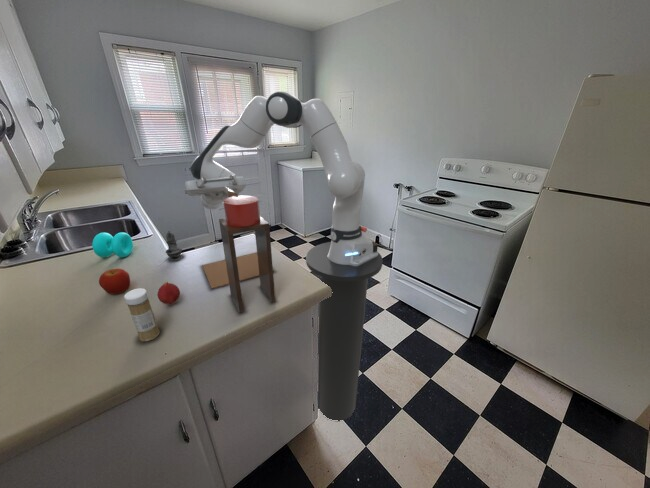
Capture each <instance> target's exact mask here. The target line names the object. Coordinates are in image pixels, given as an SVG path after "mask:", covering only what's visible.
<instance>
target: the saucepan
mask: <svg viewBox="0 0 650 488" xmlns="http://www.w3.org/2000/svg"><path fill="white" fill-rule="evenodd" d="M223 193H224V194H225V195H226V196H227V197H228V198H227V199H225V200H224V201H223V203H222V204H223V209H224V215H225V218H226V223H227V224H228V225H229V226H233V227H247V226H252V225H255V224H257V223H259V222H260V216H261V213H260V201H259V198H258V197H257V196H253V195H240V194H239V195H237V194H236V193H235V192H234V191H232V190H231V189H230V188H229V187H224V188H223Z"/></svg>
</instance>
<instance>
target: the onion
mask: <svg viewBox="0 0 650 488" xmlns="http://www.w3.org/2000/svg"><path fill="white" fill-rule="evenodd" d="M156 296H157V298H158V300H159V302H160V303H162V304H165V305H170V306H171V305H174V304H175V303H176V302H177V301H178V299H179V298H180V296H181V290H180V288H179V287H178V286H177V285H176V284H175V283H170V282H169V281H165V282H164V283H163V284H162V285H161V286H160V287H159V288H158V291H157V295H156Z"/></svg>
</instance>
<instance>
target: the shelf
mask: <svg viewBox="0 0 650 488" xmlns="http://www.w3.org/2000/svg"><path fill="white" fill-rule="evenodd" d="M218 222H219V229H220V235H221V241H222V248H223V254H224V260H225V261H226V267H227V273H228V280H229V285H228V286H229V292H230V296H231V299H232V300H233V303H234V304H235V307H236V309H237V311H238V312H239V314H242V313H245V309H244V303H243V296H242V287H241V281H240V280H239V273H238V266H237V259H236V257H237V253H236V246H235V237H234V235H236V234H242V233H246V232H253V231H254V237H255V245H256V253H257V256H258V266H259V276H258V277H259V285H260V289H261V290H262V292H263V293H264V295H266V297H267V298H268V300H269V301H270V302H271V304H272V303H276V294H275V293H276V292H275V281H274V280H275V279H274V272H273V271H274V267H273V255H272V241H271V230H270V229H271V228H270V222H268V221H267V220H266V219H264V217H262V216H261V215H260V222H259V223H257V224H255V225H252V226H247V227H233V226H229V225H228V224H227V223H226V217H225V218H219V219H218Z"/></svg>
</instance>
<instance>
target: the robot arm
mask: <svg viewBox="0 0 650 488" xmlns="http://www.w3.org/2000/svg"><path fill="white" fill-rule="evenodd" d="M274 125H276V126H278V127H279V126H280V127H284V128H287V129H297V128H300V127H301V126H302V127H303V128H304V129H305V132H306V133H307V135H308V137H309V139H310V142H311V143H312V145H313V147H314V149H315V151H316V153H317V154H318V157H319V158H320V161H321V163H322V166H323V171H324V172H325V177H326V179H327V182H328V183H327V186H328V189H329V192H330V193H331V194H332V195H333V196H334V201H333V205H332V216H331V217H332V218H331V219H332V220H331V223H332V224H331V226H330V240H331V241H330V242H331V245H330V250H329V253H328V259H329V260H330V261H332V262H334V263H337V264H342V265H351V266H359V265H361V264H363V263H365V262H367V261H369V260H371V259H373V258H375V257H377V256H378V253H379V251H378V249H379V247H378V244H377V243H376V242H375V241H372V240H371V239H370V238H368V237H367V236H366V235H365V234H363V233H367V231H368V228H367V227H365V226H361V225H360V222H361V221H360V220H361V207H362V203H363V195H364V187H365V182H366V181H365V180H366V171H365V169H364V167H363V166H362V165H361V164H360V163H358V162H355V161H353V159H352V156H351V154H350V151H349V147H348V143H347V140H346V138H345V136H344V134H343V133H342V130H341V129H340V126H339V124H338V122H337V120H336V118H335V116H334V115H333V113H332V111H331V110H330V108H329V107H328V105H327V104H326V103H325V102H324V100H322V99H321V98H311V99H309V100H308V101H305V102H304V101H303V100H301V99H300V98H298V97H297V96H296V95H294V94H292V93H288V92H287V91H275V92H273V93H272V94H270V95H269V96H268V98H267V97H265V96H262V95H256V96H254V97H253V98H252V99H251V100H250V101H249V103H248V104H247V105H246V106H245V108H244V109H243V111H242V113H241V114H240V116H239V118H238V120H237V121H236V122H235V123H233V124H226V125H224V126H223V127H222V128H221V129H220V130H219V131H218V132H217V133H216V134H215V136H214V137H213V138H212V139H211V140H210V142H209V143H208V144H207V146H206V147H205V148H204V149H203V150H202V151H201V153H200V154H199V155H198V156H197V157H195V158H194V159H193V161H192V162H191V164H190V167H189V170H190V173H191V175H192V177H193V178H194V179H193V180H192V179H191V180H186V181H185V182H184V187H185V189H184V194H186V195H188V196H189V197H198V196H199V199H200V203H201V205H202V206H203V208H205V209H207V210H212V211H213V210H217V209H218V208H220V207H221V206H222V204H224V203H223V201H224V200H225V199H227V198H228V197H227V196H226V195H225V194H224V193H223V188H224V187H229V188H230V189H231V190H232V191H234V192H235V193H236V194H237V195H239V196H240V194H241V193H242V192H243V191H244V190H245V188H246V186H247V183H246V179H245V177H244V176H242V175H240V176H237V174H235V173H234V172H232V171H231V170H229V169H228V168H226V167H225V166H223V165H221V164H220V163H218V162H216V161H215V160H214V159H213V158H214V156H215V155H216V154H217V153H218V152H219V150H220V149H221V148H222V147H223V146H225V145H230V146H235V147H238V148H243V149H254V148H257V147H258V146H260V145H261V143H263V141H264V139H265V138H266V136H267V135H268V133H269V131H270V129H271V128H272V127H273V126H274Z"/></svg>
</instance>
